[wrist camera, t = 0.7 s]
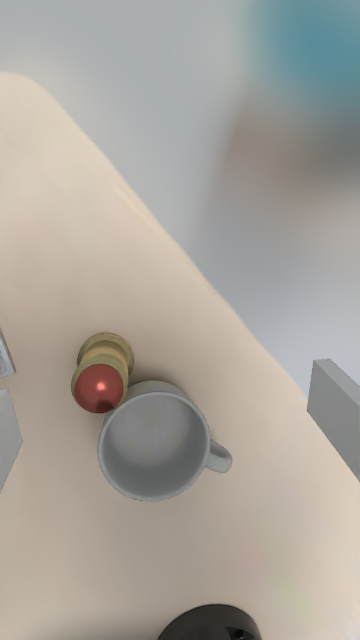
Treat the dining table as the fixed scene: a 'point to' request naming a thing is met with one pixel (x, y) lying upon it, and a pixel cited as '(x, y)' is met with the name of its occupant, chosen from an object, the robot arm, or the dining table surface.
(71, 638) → the dining table surface
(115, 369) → the cylinder
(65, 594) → the dining table surface
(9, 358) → the flange seat
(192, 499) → the dining table surface
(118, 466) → the teacup
